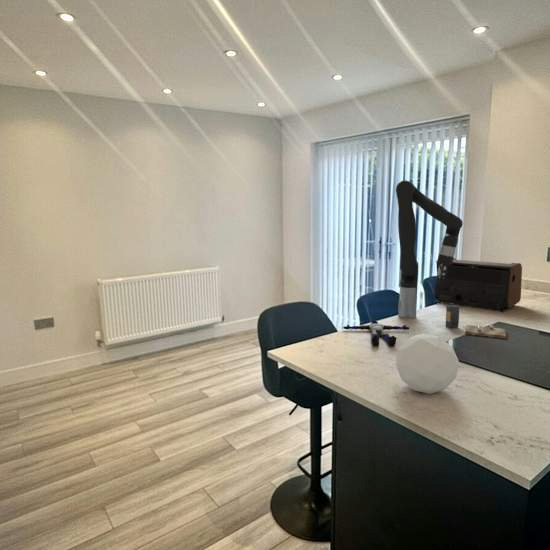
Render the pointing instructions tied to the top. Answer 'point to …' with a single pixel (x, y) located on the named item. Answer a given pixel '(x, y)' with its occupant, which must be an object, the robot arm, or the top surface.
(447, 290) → the radio
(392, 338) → the toy
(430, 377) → the geometric sphere
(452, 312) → the dark grey tall block
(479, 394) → the top surface
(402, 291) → the robot arm
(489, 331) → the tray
